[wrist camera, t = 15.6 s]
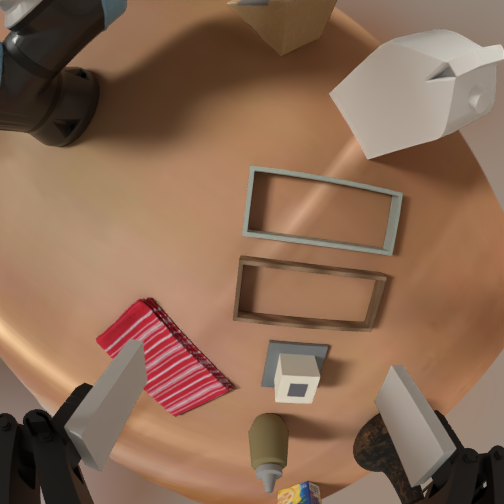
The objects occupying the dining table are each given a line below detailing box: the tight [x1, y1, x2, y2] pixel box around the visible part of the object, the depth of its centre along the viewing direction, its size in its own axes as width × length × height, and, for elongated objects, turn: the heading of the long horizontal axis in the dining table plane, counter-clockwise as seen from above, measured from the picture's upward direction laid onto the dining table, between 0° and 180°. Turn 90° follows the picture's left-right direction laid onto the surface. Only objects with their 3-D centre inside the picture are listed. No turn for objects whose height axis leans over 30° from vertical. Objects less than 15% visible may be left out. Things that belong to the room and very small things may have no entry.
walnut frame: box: [233, 256, 387, 332], centre depth 41 cm, size 23×10×2 cm, turn 83°
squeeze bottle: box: [249, 414, 289, 493], centre depth 40 cm, size 8×8×18 cm
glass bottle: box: [353, 414, 424, 504], centre depth 36 cm, size 18×18×28 cm
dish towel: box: [96, 298, 234, 417], centre depth 45 cm, size 17×24×3 cm
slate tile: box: [261, 340, 328, 388], centre depth 45 cm, size 10×10×1 cm
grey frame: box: [242, 166, 403, 256], centre depth 38 cm, size 23×10×2 cm, turn 83°
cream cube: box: [274, 353, 320, 403], centre depth 42 cm, size 6×6×6 cm
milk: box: [329, 29, 504, 160], centre depth 22 cm, size 12×12×26 cm
